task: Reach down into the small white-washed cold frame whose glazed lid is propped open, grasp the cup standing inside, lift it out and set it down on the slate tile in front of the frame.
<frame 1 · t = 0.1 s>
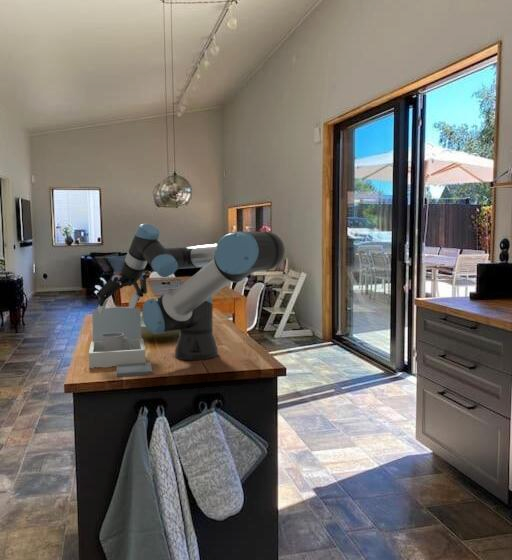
hand: (115, 309, 207), 15 cm above the countertop, tool tilted 35°, fingers open, 13 cm apart
slate tile: (134, 370, 180), on the countertop
dog bowl: (117, 322, 268), on the countertop
cup: (117, 360, 194), resting in cold frame
cold frame: (117, 359, 194), on the countertop
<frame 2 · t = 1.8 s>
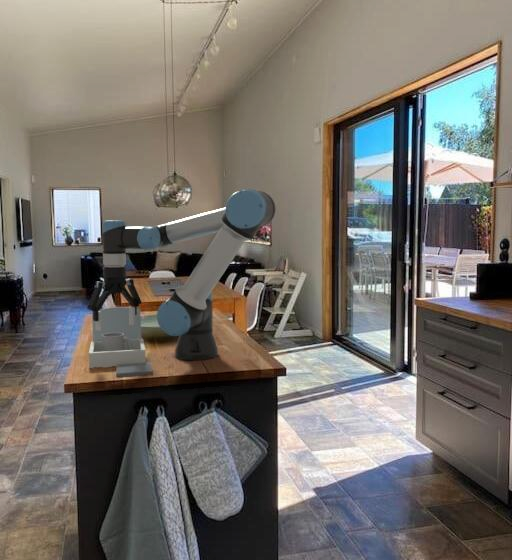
hand: (115, 327, 193), 11 cm above the countertop, tool pointing down, fingers open, 13 cm apart
nothing on the countertop moved.
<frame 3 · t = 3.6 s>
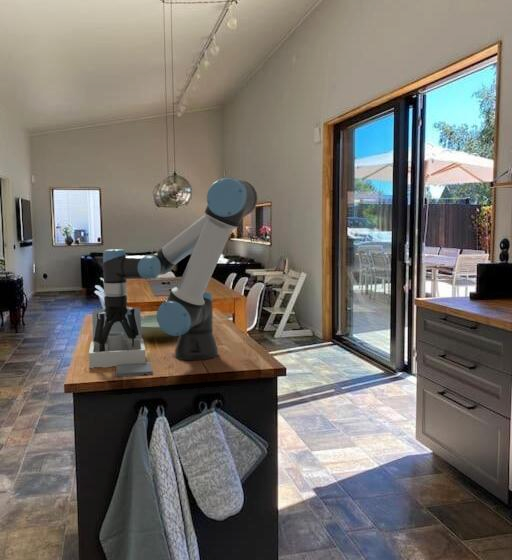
hand: (117, 359, 194), 0 cm above the countertop, tool pointing down, fingers open, 9 cm apart
cup: (117, 360, 194), resting in cold frame, touching gripper
everything else where it was.
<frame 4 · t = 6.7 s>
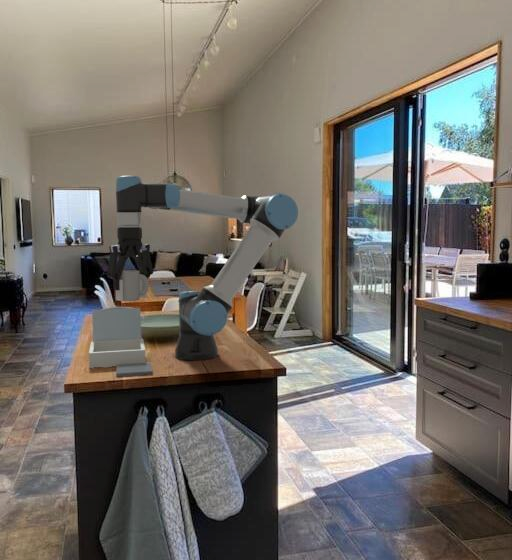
hand: (131, 298, 177), 23 cm above the countertop, tool pointing down, fingers closed on cup, 8 cm apart
cup: (132, 300, 177), point 23 cm above the countertop, touching gripper
everything else where it was.
when the fingers open (2 cm above the countertop, at t = 9.4 s): cup stays where it is, resting on slate tile.
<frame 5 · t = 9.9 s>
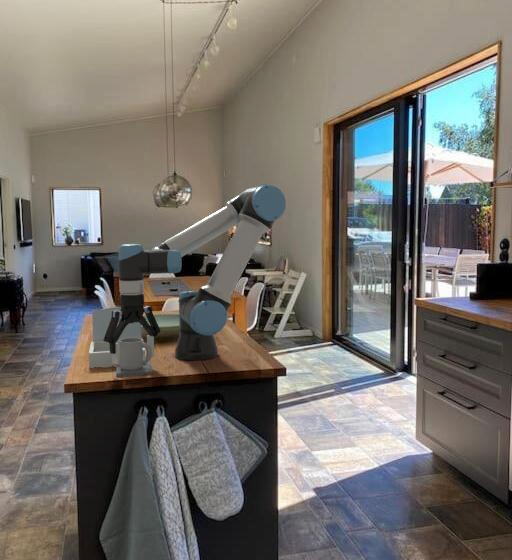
hand: (133, 359, 179), 4 cm above the countertop, tool pointing down, fingers open, 13 cm apart
cup: (135, 368, 180), point 1 cm above the countertop, touching slate tile
everything else where it was.
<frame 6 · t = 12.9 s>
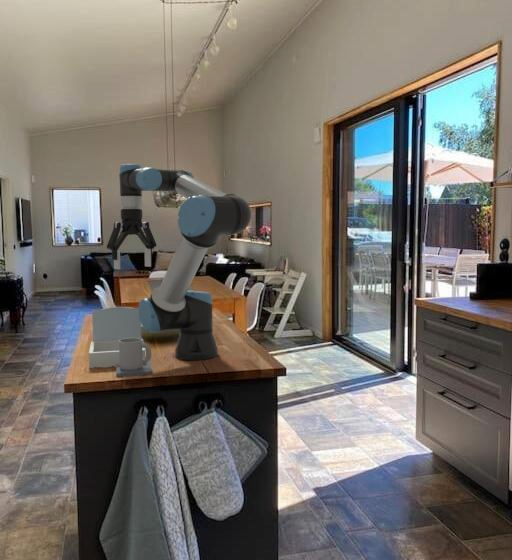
hand: (133, 267, 203), 31 cm above the countertop, tool pointing down, fingers open, 13 cm apart
nothing on the countertop moved.
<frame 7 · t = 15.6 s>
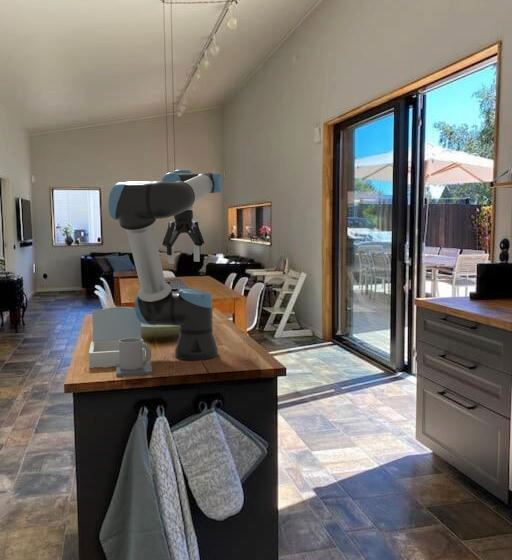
hand: (184, 262, 227), 31 cm above the countertop, tool pointing down, fingers open, 13 cm apart
nothing on the countertop moved.
at the end: cup inside the target area on the slate tile (0.6 cm from its centre), point 0.8 cm above the slate tile's base; cup tilted 0°; the gripper is holding nothing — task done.
